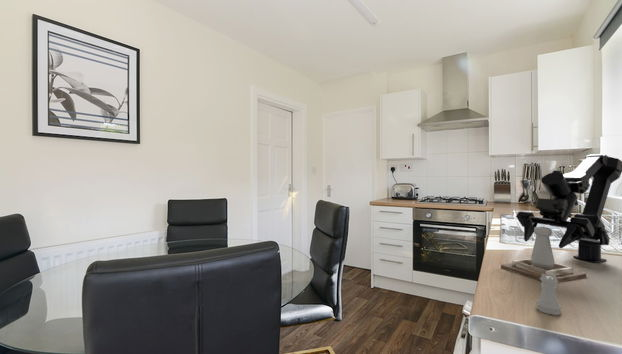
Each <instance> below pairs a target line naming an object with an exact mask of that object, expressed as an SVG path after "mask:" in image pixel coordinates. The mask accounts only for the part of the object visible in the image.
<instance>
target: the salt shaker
mask: <svg viewBox="0 0 622 354" xmlns="http://www.w3.org/2000/svg"><path fill="white" fill-rule="evenodd" d="M533 234H535V240H534V243H533V244H534V245H533V248H532V252H531V257H530V258H531V262H532V265H533V266H534V267H537V268H541V269H544V270H546V271H547V270H552V268H553V267H554V264H555V263H556V262H555V258H554V254H553V250H552V244H551V240H550V237H551V236H552V234H553V230H552V229H551V228H549V227H546V226H536V227H535V228H534V233H533Z"/></svg>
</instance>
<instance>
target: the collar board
mask: <svg viewBox="0 0 622 354" xmlns="http://www.w3.org/2000/svg"><path fill="white" fill-rule="evenodd" d="M500 267H501V269H504V270H506V271H510V272H511V273H512V272H513V273H515V274H519V275H522V276H524V277H528V278H531V279H533V280H536V281H540V282H542V281H541V280H540V277H542V274H545V276H546V274H549V276H550V277H551V275H554V276H556V279H557V280H558V283H560V282H565V281H566V282H567V281H572V280H577V279H585V278H587V273H585V272H580V271H577V270H574V267H571V266H567V265H564V264H560V263H556V262H555V264H554V267H553V268H552V270H547V271H546V270H544V269H541V268H537V267H534V266H533V265H532V262H531V257H530V258H523V259H515V260H512V261H511V262H510V263H505V264H504V263H503V264H500Z"/></svg>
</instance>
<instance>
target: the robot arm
mask: <svg viewBox="0 0 622 354" xmlns="http://www.w3.org/2000/svg"><path fill="white" fill-rule="evenodd" d="M621 175H622V160H621V159H619V158H617V157H611V156H608V155H607V154H604V153H603V154H602V153H599V154H598V153H597V154H594V153H593V154H588V155H585V157H584V160H582V162H581V163H579V165H577V167H576V168H574V170H573V171H571V172H566V173H563V172H562V170H553V171H552V172H550V173H547V174H545V175H544V176H542V177H541V184H542V185H543V188H544V189H545V190H546V192H547V194H548V195H549V196H551V197H552V198H537V200H536V205H535V209H537V210H539V215H540V217H539V216H535V214H534V212H530V211H523V210H522V211H518V212H517V213H516V216H515V217H516V219H517V220H518V222H519V224H520V225H521V227H523V229H524V230H523V240H524V242H528V241H529V240H530V239H531V237H532V236H533V234H534V228H536V227H538V225H547V226H550V227H556V228H562V229H563V228H564V229H566V230H565V232H564V234H563V235H562V237H561V239H560V241H559V244H558V247H559V249H563V248H565V247H567V246H568V245H570V244H572V243H574V242H577V241H578V243H577V244H578V246H577V255H573V258H575V259H580V260H583V261H586V262H592V263H599V262H607V260H608V259H606V258H602V246H609V245H610V242H611V241H610V236H609V234H608V232H607V230H606V225H605V224H604V222H603V221H602V216H603V212H604V209H605V205H606V203H607V199H608V195H609V192H610V189H611V185H612V183H614V182H615V181H617V180H619V179H620V177H621ZM591 178H593V179H592V182H591V184H590V181H589V180H591ZM589 188H590V189H589ZM588 190H589V192H588V195H587V199H586V202H585V205H584V208H583V210H582V212H581V213H580V214H579V213H575V215H573V214H572V210H573V208H574V207H575V206H578V205H579V201H578V196H577V194H580V195H581V194H582V195H585V193H586V192H587V191H588ZM568 219H569V220H568Z"/></svg>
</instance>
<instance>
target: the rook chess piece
mask: <svg viewBox="0 0 622 354" xmlns="http://www.w3.org/2000/svg"><path fill="white" fill-rule="evenodd" d="M540 280H541V281H540V282H541V284H540V287H541V293H540V296H539V297H538V299H537V300H536V304H537V305H535V307H536V309H538V311H539V310H540V311H539V312H540V313H543V312H544V313H543V314H545V313H547V314H546V315H549V314H552V315H551V316H556V315H557V316H560V315H561V314H562V313H563V312H562V306H561V304H560V301H558V296H557V289H558V287H557V284H558V283H559V282H558V280H557V279H556V276H554V275H551V277H550V276H549V274H546V276H545V274H542V277H540Z"/></svg>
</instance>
